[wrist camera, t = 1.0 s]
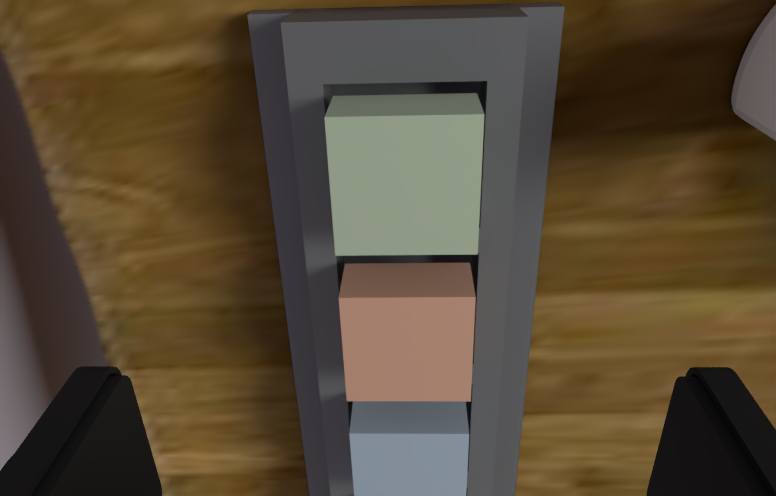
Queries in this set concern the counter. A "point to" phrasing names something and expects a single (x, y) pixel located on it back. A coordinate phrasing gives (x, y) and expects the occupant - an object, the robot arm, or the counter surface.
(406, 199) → the key
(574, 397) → the counter surface
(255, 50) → the keypad housing
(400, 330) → the key
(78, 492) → the robot arm
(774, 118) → the eye dropper bottle
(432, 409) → the key
